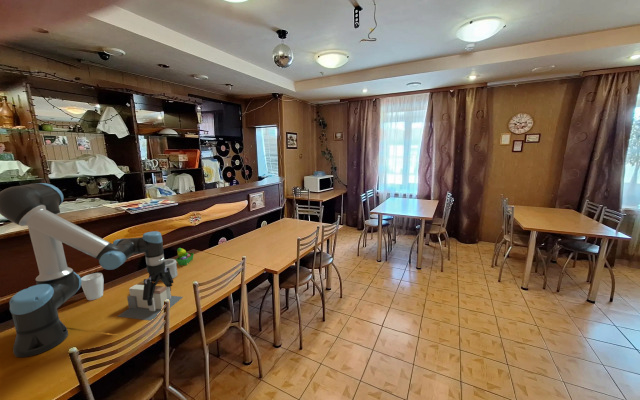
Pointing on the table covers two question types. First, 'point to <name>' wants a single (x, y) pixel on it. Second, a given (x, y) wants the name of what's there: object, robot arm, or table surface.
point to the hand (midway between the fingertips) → (160, 304)
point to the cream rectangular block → (137, 297)
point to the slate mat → (146, 311)
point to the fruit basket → (184, 257)
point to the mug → (171, 267)
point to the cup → (93, 285)
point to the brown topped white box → (159, 296)
